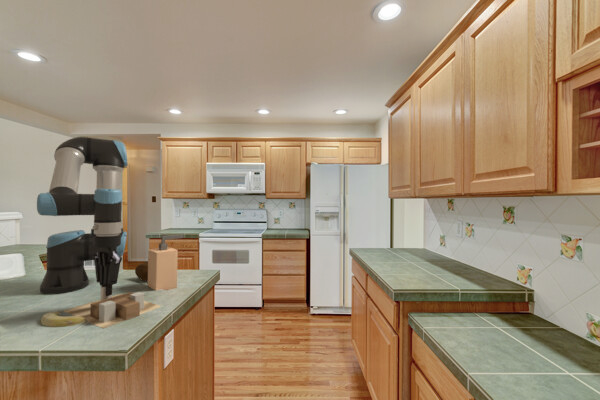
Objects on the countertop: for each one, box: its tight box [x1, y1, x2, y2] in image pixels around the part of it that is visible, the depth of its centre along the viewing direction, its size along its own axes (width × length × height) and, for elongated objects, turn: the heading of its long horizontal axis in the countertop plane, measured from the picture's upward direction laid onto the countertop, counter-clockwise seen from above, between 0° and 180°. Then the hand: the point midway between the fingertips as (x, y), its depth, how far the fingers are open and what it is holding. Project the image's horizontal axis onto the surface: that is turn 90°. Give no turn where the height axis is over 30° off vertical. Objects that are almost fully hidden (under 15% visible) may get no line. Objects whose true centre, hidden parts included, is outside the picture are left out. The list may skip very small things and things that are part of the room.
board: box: [62, 293, 162, 329], centre depth 89 cm, size 24×18×1 cm
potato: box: [134, 260, 148, 282], centre depth 123 cm, size 8×12×9 cm
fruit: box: [40, 311, 87, 328], centre depth 79 cm, size 7×15×3 cm, turn 63°
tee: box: [90, 291, 141, 321], centre depth 85 cm, size 12×12×4 cm
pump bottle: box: [147, 233, 184, 291], centre depth 114 cm, size 13×9×22 cm
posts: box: [99, 291, 145, 323], centre depth 84 cm, size 3×12×5 cm, turn 153°
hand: (106, 304), depth 89 cm, fingers closed
